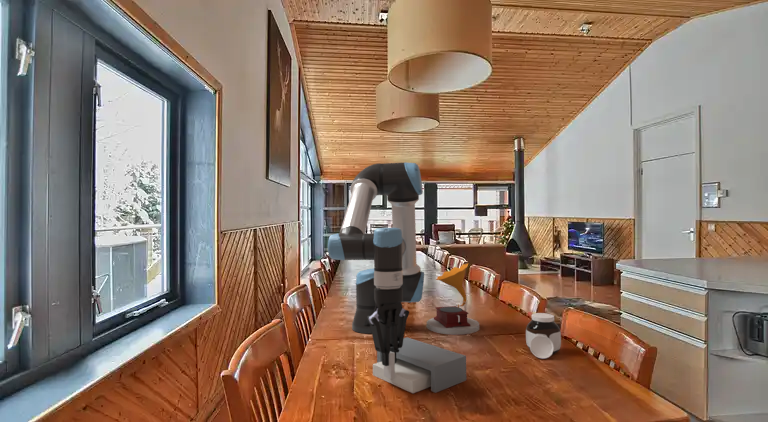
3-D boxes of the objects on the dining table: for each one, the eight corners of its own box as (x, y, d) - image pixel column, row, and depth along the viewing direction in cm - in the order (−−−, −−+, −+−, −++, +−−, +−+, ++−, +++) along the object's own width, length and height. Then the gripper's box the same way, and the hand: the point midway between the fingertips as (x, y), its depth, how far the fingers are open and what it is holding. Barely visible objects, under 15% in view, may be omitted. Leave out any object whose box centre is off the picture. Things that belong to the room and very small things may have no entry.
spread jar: (551, 347, 139) (550, 311, 139) (571, 358, 128) (571, 320, 128) (517, 349, 137) (516, 313, 137) (535, 361, 126) (535, 322, 126)
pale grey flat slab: (372, 375, 116) (372, 364, 116) (399, 366, 122) (399, 356, 122) (412, 393, 104) (412, 381, 104) (440, 382, 110) (440, 371, 110)
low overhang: (377, 367, 122) (376, 345, 122) (407, 358, 129) (407, 337, 129) (435, 392, 104) (435, 366, 104) (466, 380, 112) (466, 355, 112)
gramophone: (466, 319, 177) (465, 260, 177) (488, 332, 157) (487, 265, 157) (420, 322, 173) (419, 262, 173) (436, 336, 153) (436, 267, 153)
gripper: (378, 291, 103) (379, 388, 102) (416, 285, 111) (417, 374, 111) (359, 287, 109) (360, 379, 108) (397, 282, 117) (398, 367, 117)
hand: (389, 376), depth 109 cm, fingers closed
